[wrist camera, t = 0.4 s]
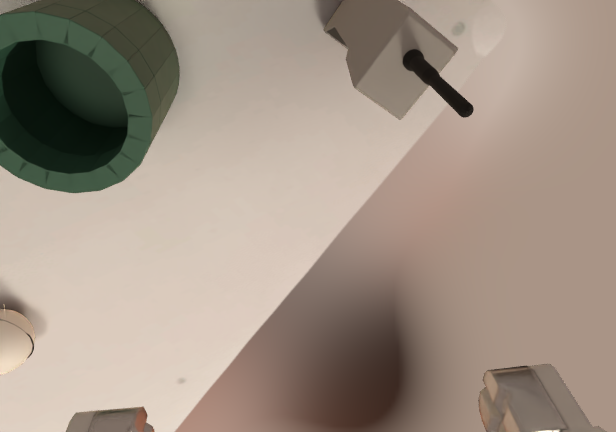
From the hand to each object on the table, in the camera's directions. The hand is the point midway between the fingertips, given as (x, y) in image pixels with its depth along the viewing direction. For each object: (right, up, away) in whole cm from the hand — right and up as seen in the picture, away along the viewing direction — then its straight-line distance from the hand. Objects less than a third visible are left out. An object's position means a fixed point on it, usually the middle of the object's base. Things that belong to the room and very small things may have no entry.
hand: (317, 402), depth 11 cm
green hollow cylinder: (-18, +18, +29) cm, 39 cm away
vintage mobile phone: (+4, +22, +29) cm, 37 cm away
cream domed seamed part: (-35, -7, +44) cm, 56 cm away
